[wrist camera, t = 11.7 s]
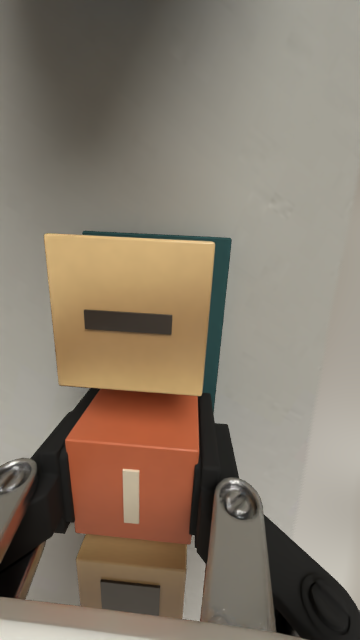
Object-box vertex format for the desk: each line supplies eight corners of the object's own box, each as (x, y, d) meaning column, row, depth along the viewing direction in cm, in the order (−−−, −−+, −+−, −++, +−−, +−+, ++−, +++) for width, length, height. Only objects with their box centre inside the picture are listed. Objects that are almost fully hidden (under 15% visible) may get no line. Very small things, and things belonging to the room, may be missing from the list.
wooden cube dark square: (113, 462, 12) (73, 562, 8) (188, 468, 12) (186, 574, 8) (115, 517, 13) (81, 630, 9) (184, 524, 13) (180, 641, 9)
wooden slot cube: (106, 245, 9) (39, 231, 5) (205, 250, 9) (215, 241, 5) (109, 338, 10) (56, 387, 6) (198, 344, 10) (202, 399, 6)
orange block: (111, 371, 10) (62, 441, 6) (197, 378, 10) (199, 453, 6) (114, 441, 12) (73, 536, 8) (191, 447, 11) (190, 548, 7)
